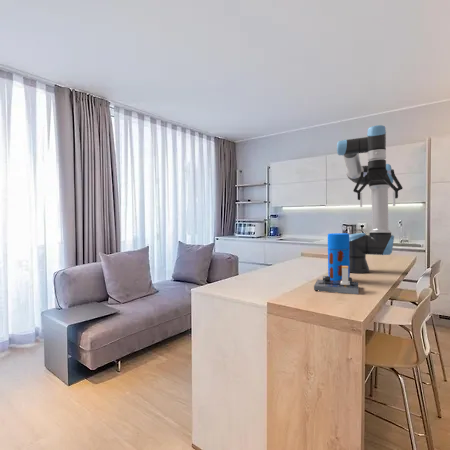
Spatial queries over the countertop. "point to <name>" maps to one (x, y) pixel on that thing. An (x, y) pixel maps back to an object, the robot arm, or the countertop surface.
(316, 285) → the console
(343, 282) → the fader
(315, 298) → the countertop surface
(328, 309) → the countertop surface
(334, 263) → the thermos
